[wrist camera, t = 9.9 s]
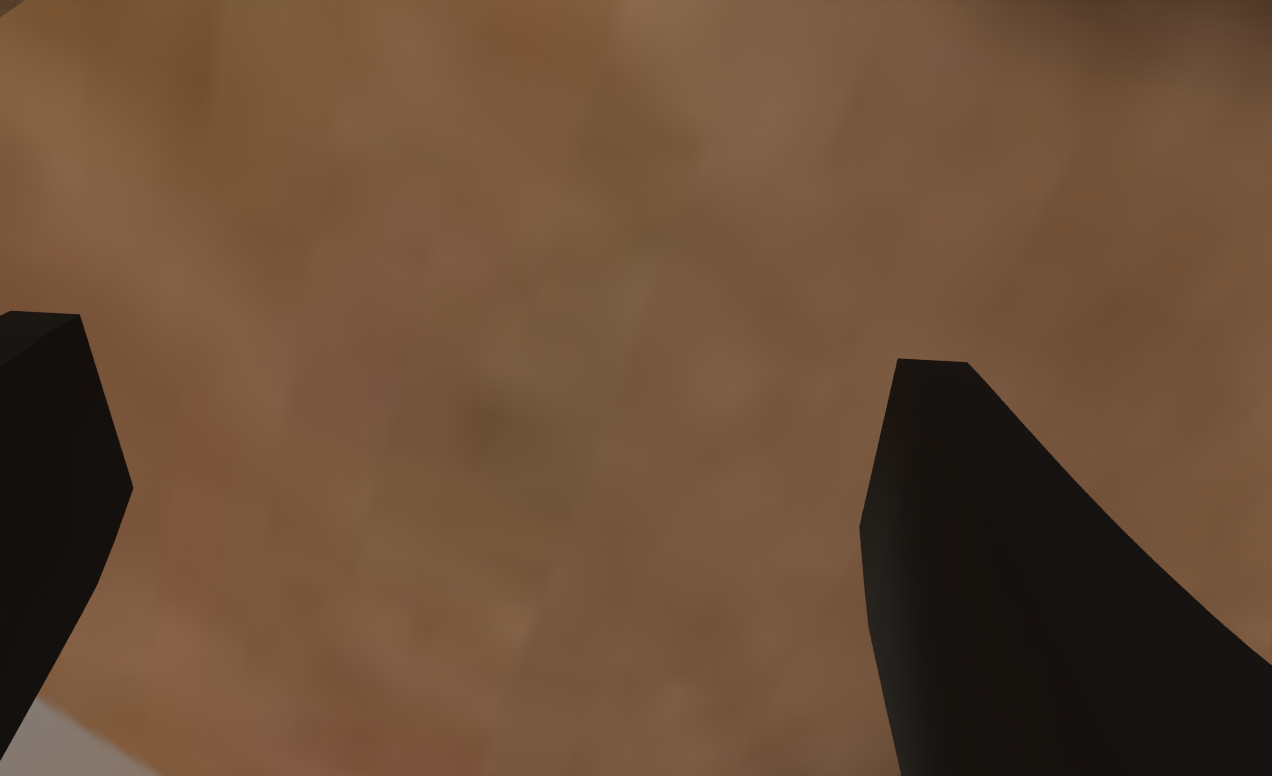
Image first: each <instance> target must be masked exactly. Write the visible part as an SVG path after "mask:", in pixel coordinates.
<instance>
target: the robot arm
mask: <svg viewBox="0 0 1272 776" xmlns="http://www.w3.org/2000/svg"><path fill="white" fill-rule="evenodd" d="M132 491H133V485H132V481H131V478H130V475H129V472H128V469H127V465H126V462H125V459H124V456H123V452H122V449H121V446H120V443H119V439H118V436H117V433H116V430H115V427H114V423H113V420H112V417H111V414H110V410H109V407H108V404H107V401H106V397H105V394H104V391H103V388H102V385H101V381H100V378H99V375H98V372H97V368H96V365H95V362H94V359H93V356H92V352H91V349H90V346H89V343H88V339H87V336H86V333H85V330H84V326H83V323H82V320H81V317H80V314H62V313H43V312H24V311H9V312H7V313H5V314H3V315H1V316H0V760H1V759H2V757H3V755H4V753H5V751H6V750H7V748H8V746H9V744H10V743H11V741H12V739H13V737H14V735H15V734H16V732H17V730H18V728H19V726H20V725H21V723H22V721H23V719H24V717H25V716H26V714H27V712H28V710H29V708H30V707H31V705H32V703H33V701H34V700H35V698H36V696H37V694H38V692H39V691H40V689H41V687H42V685H43V684H44V682H45V680H46V678H47V676H48V675H49V673H50V671H51V669H52V667H53V666H54V664H55V662H56V660H57V658H58V657H59V655H60V653H61V651H62V649H63V647H64V646H65V644H66V642H67V640H68V638H69V636H70V635H71V633H72V631H73V629H74V627H75V625H76V624H77V622H78V620H79V618H80V616H81V614H82V613H83V611H84V609H85V607H86V605H87V603H88V601H89V599H90V597H91V596H92V594H93V592H94V590H95V588H96V586H97V584H98V581H99V579H100V576H101V574H102V571H103V569H104V566H105V564H106V561H107V559H108V556H109V554H110V551H111V549H112V546H113V544H114V541H115V539H116V536H117V533H118V530H119V527H120V524H121V522H122V519H123V516H124V513H125V510H126V508H127V505H128V502H129V499H130V496H131V493H132ZM859 528H860V540H861V552H862V564H863V576H864V587H865V597H866V607H867V616H868V626H869V631H870V636H871V641H872V645H873V650H874V655H875V659H876V664H877V668H878V673H879V678H880V682H881V687H882V691H883V696H884V700H885V705H886V709H887V714H888V718H889V723H890V727H891V732H892V736H893V740H894V745H895V749H896V754H897V758H898V763H899V767H900V771H901V776H1272V665H1271V664H1269V663H1268V662H1267V661H1266V660H1264V659H1263V658H1262V657H1261V656H1260V655H1258V654H1257V653H1256V652H1255V651H1253V650H1252V649H1251V648H1250V647H1249V646H1247V645H1246V644H1245V643H1244V642H1243V641H1242V640H1241V639H1239V638H1238V637H1237V636H1236V635H1235V634H1234V633H1232V632H1231V631H1230V630H1229V629H1228V628H1227V627H1225V626H1224V625H1223V624H1222V623H1221V622H1220V621H1219V620H1217V619H1216V618H1215V617H1214V616H1213V615H1212V614H1211V613H1210V612H1209V611H1207V610H1206V609H1205V608H1204V607H1203V606H1202V605H1201V604H1200V603H1199V602H1198V601H1197V600H1196V599H1195V598H1193V597H1192V596H1191V595H1190V594H1189V593H1188V592H1187V591H1186V590H1185V589H1184V588H1183V587H1182V586H1181V585H1180V584H1178V583H1177V582H1176V581H1175V580H1174V579H1173V578H1172V577H1171V576H1170V575H1169V574H1168V573H1167V572H1166V571H1164V570H1163V569H1162V568H1161V567H1160V566H1159V565H1158V564H1157V563H1156V562H1155V561H1154V560H1153V559H1152V558H1151V557H1150V556H1149V555H1148V554H1147V553H1146V552H1144V551H1143V550H1142V549H1141V548H1140V547H1139V546H1138V545H1137V544H1136V543H1135V542H1134V541H1133V540H1132V539H1131V538H1130V537H1129V536H1128V535H1127V534H1126V533H1125V532H1124V531H1123V530H1122V529H1121V528H1120V527H1119V526H1118V525H1117V524H1116V523H1115V522H1114V521H1113V520H1112V519H1111V518H1110V517H1109V516H1108V515H1107V514H1106V513H1105V511H1104V510H1103V509H1102V508H1101V507H1100V506H1099V505H1098V504H1097V503H1096V502H1095V501H1094V500H1093V499H1092V498H1091V497H1090V496H1089V495H1088V494H1087V493H1086V492H1085V491H1084V490H1083V489H1082V487H1081V486H1080V485H1079V484H1078V483H1077V482H1076V481H1075V480H1074V479H1073V478H1072V477H1071V476H1070V475H1069V474H1068V473H1067V471H1066V470H1065V469H1064V468H1063V467H1062V466H1061V465H1060V464H1059V463H1058V462H1057V461H1056V460H1055V459H1054V457H1053V456H1052V455H1051V454H1050V453H1049V452H1048V451H1047V450H1046V449H1045V447H1044V446H1043V445H1042V444H1041V443H1040V442H1039V441H1038V440H1037V439H1036V438H1035V436H1034V435H1033V434H1032V433H1031V432H1030V431H1029V430H1028V429H1027V428H1026V427H1025V425H1024V424H1023V423H1022V422H1021V421H1020V420H1019V419H1018V418H1017V416H1016V415H1015V414H1014V413H1013V412H1012V411H1011V410H1010V409H1009V407H1008V406H1007V405H1006V404H1005V403H1004V402H1003V401H1002V400H1001V398H1000V397H999V396H998V395H997V394H996V393H995V392H994V391H993V390H992V388H991V387H990V386H989V385H988V384H987V383H986V382H985V381H984V380H983V378H982V377H981V376H980V375H979V374H978V373H977V372H976V371H975V370H974V369H973V368H972V367H971V366H970V365H969V364H968V363H967V362H954V361H935V360H916V359H898V360H897V364H896V368H895V373H894V377H893V382H892V386H891V390H890V395H889V399H888V404H887V408H886V412H885V417H884V421H883V425H882V430H881V434H880V439H879V443H878V447H877V452H876V456H875V461H874V465H873V469H872V474H871V478H870V483H869V487H868V491H867V496H866V500H865V505H864V509H863V513H862V518H861V522H860V527H859Z"/></svg>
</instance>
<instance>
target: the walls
mask: <svg viewBox="0 0 1272 776" xmlns="http://www.w3.org/2000/svg"><path fill="white" fill-rule="evenodd" d="M23 1H24V0H0V17H2V16H3V15H4V14H6V13H7V12H9V11H10V10H11V9H13V8H14V7H16V6H17V5H19V4H20V3H21V2H23Z"/></svg>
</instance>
